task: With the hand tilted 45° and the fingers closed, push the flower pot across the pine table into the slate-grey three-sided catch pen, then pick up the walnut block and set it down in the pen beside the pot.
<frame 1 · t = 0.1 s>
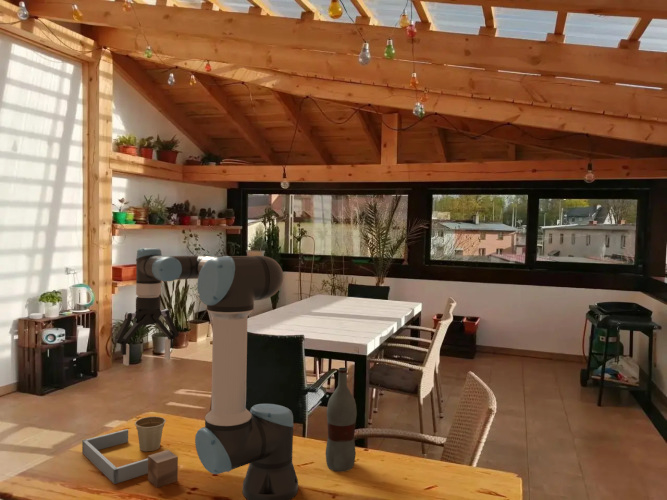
hand: (147, 361, 166), 28 cm above the table, tool pointing down, fingers open, 13 cm apart
catch pen: (122, 460, 157), on the table
flower pot: (150, 448, 166), on the table
walnut block: (162, 480, 145), on the table
bottle: (340, 466, 157), on the table
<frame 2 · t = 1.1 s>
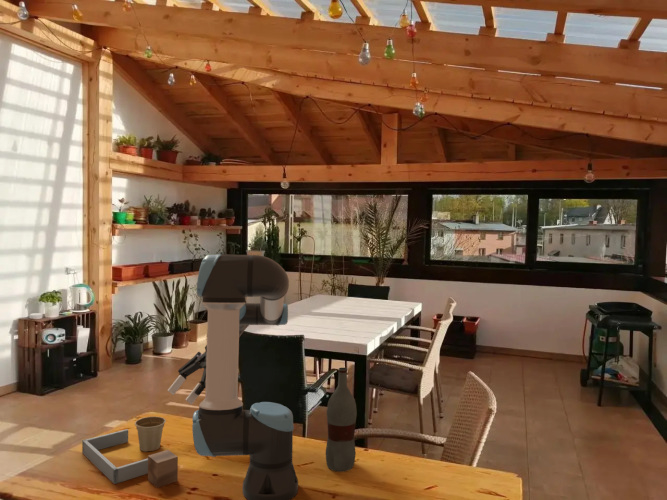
hand: (179, 397, 172), 14 cm above the table, tool tilted 45°, fingers open, 12 cm apart
nothing on the table moved.
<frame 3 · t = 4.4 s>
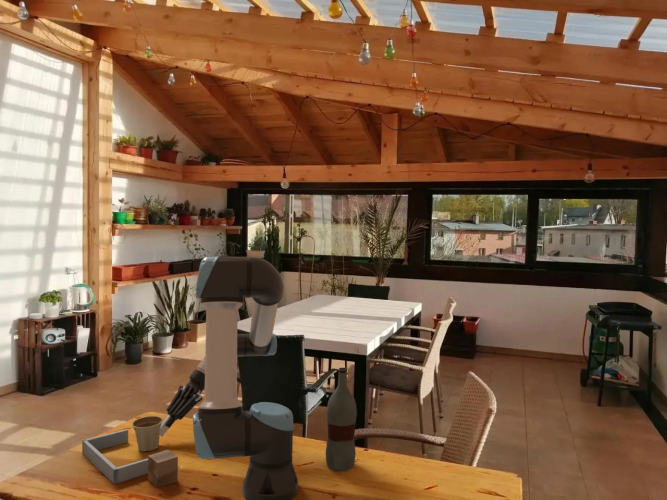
hand: (158, 434, 169), 3 cm above the table, tool tilted 45°, fingers closed
flower pot: (148, 448, 166), on the table, touching gripper
everything else where it was.
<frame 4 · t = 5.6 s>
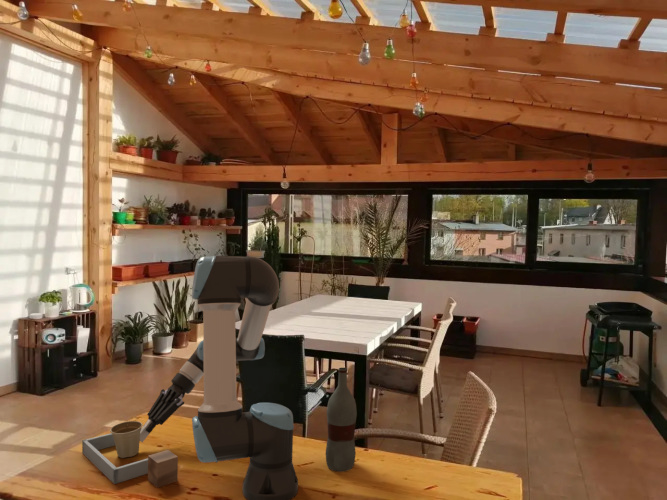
hand: (138, 439, 164), 3 cm above the table, tool tilted 45°, fingers closed
flower pot: (128, 454, 161), on the table, touching gripper
everything else where it was.
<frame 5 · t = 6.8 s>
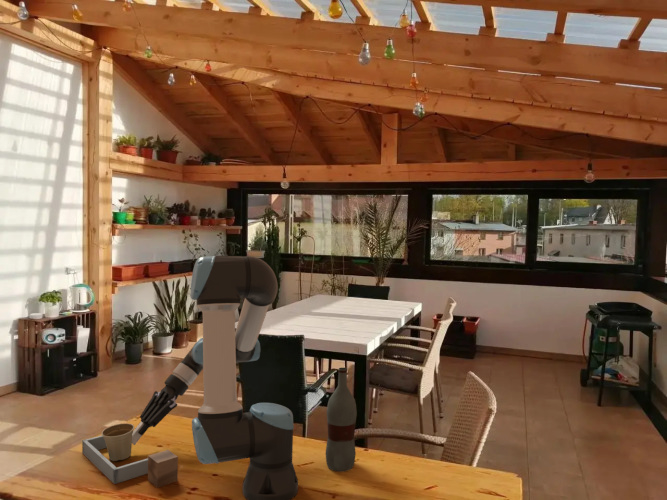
hand: (130, 442, 161), 4 cm above the table, tool tilted 45°, fingers closed
flower pot: (120, 457, 159), on the table, touching gripper
everything else where it was.
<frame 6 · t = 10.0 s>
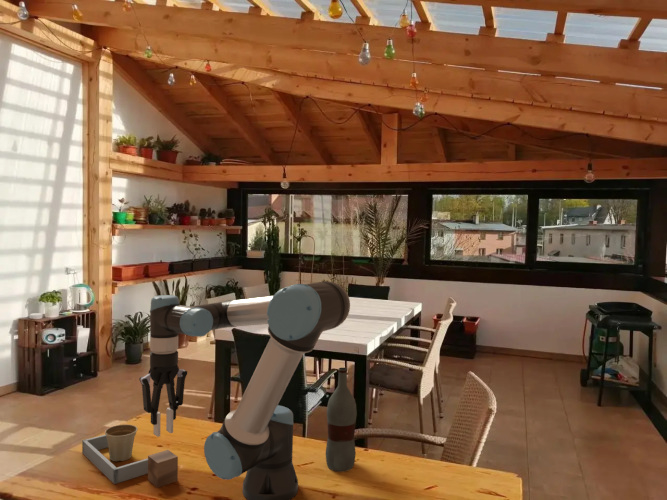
hand: (163, 433, 145), 14 cm above the table, tool pointing down, fingers open, 3 cm apart
flower pot: (121, 458, 159), on the table
everything else where it was.
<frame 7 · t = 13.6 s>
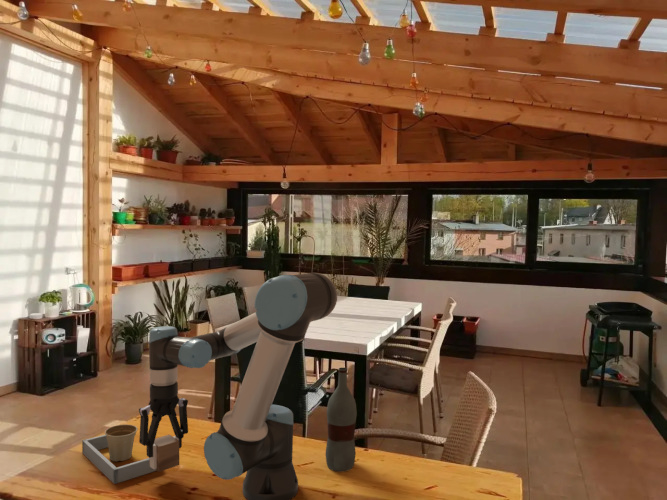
hand: (164, 463, 145), 5 cm above the table, tool pointing down, fingers closed on walnut block, 6 cm apart
walnut block: (164, 464, 145), point 5 cm above the table, touching gripper
everything else where it was.
when the fingers open (0 cm above the table, at t = 17.7 s): walnut block stays where it is, on the table.
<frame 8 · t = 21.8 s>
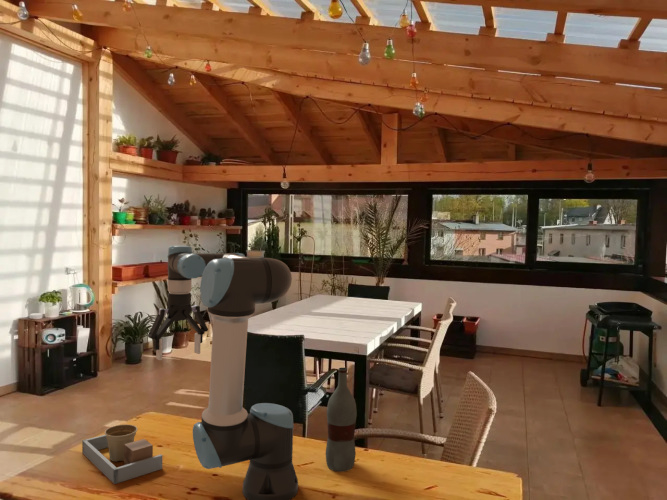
hand: (178, 356, 170), 29 cm above the table, tool pointing down, fingers open, 13 cm apart
walnut block: (138, 467, 152), on the table
everything else where it was.
at the end: flower pot inside the target area (2.1 cm from its centre), on the table; walnut block inside the target area (7.4 cm from its centre), on the table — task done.
